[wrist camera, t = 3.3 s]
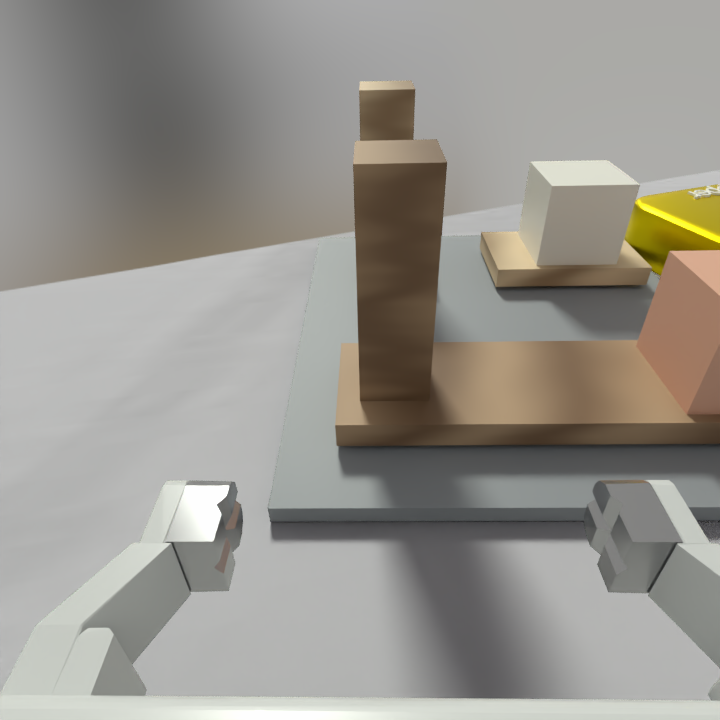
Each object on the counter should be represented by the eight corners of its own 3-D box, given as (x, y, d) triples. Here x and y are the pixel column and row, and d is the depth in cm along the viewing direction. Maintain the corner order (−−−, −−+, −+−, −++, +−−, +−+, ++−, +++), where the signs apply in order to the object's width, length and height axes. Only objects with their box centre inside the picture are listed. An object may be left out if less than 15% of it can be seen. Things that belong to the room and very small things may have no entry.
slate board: (270, 521, 20) (267, 508, 20) (320, 247, 41) (319, 237, 41) (870, 520, 20) (881, 506, 19) (611, 243, 41) (614, 233, 40)
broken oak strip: (362, 288, 33) (358, 95, 27) (363, 249, 38) (360, 77, 32) (646, 284, 33) (713, 87, 26) (610, 245, 38) (659, 71, 31)
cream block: (536, 265, 33) (552, 186, 30) (518, 234, 37) (530, 161, 34) (616, 264, 33) (640, 184, 30) (589, 233, 37) (607, 160, 34)
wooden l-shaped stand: (336, 446, 22) (318, 179, 15) (342, 362, 27) (330, 131, 20) (816, 443, 22) (1008, 166, 15) (734, 358, 26) (852, 121, 20)
